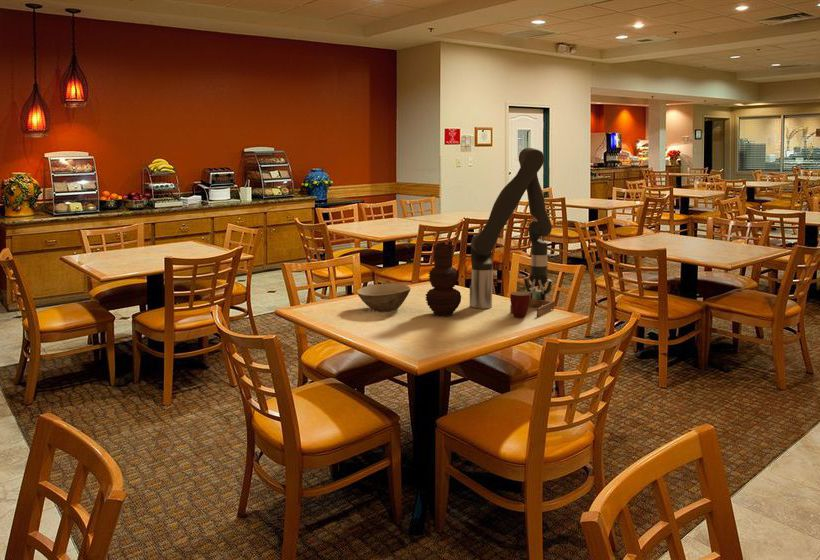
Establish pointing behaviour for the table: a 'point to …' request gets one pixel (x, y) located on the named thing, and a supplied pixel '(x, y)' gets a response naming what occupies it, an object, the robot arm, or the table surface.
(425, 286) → the table surface
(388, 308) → the bowl
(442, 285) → the vase
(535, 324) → the table surface
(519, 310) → the mug
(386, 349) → the table surface
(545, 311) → the caddy
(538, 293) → the tea tin
